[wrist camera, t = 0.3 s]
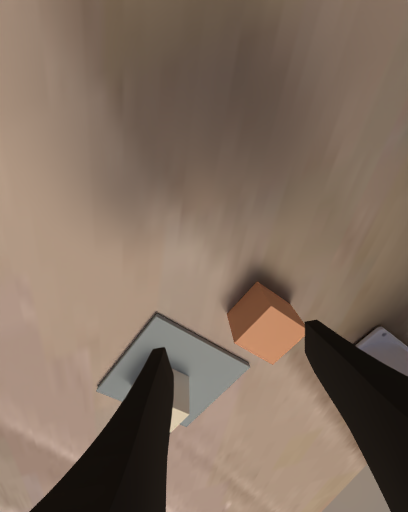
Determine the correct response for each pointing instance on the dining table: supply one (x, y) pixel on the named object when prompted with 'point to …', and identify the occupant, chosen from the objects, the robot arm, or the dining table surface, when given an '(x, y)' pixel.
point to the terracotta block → (265, 324)
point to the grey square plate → (177, 364)
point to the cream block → (179, 399)
